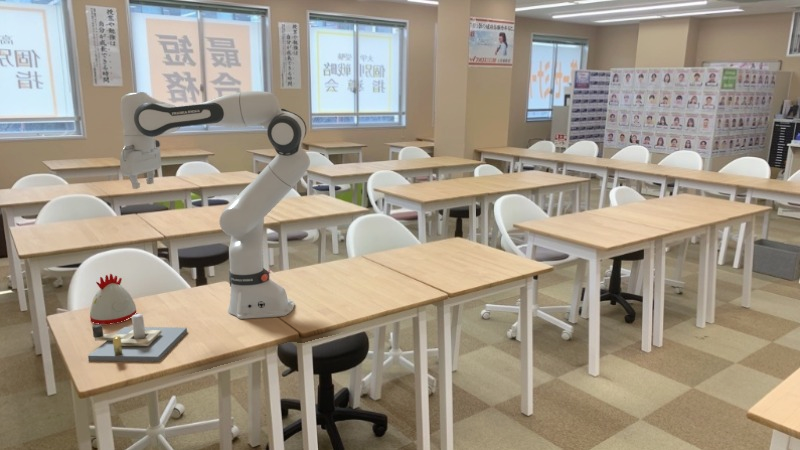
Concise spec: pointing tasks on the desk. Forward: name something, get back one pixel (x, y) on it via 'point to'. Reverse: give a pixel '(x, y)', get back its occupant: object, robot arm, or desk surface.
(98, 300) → the kitchen timer
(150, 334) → the knobbed lever handle
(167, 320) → the desk surface
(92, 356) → the board
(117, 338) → the gold rounded cylinder
